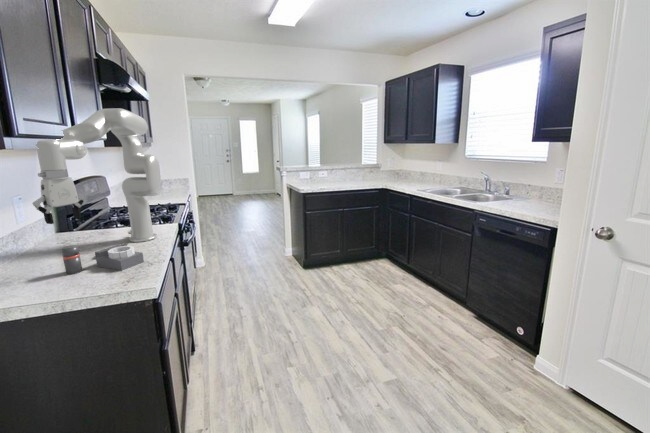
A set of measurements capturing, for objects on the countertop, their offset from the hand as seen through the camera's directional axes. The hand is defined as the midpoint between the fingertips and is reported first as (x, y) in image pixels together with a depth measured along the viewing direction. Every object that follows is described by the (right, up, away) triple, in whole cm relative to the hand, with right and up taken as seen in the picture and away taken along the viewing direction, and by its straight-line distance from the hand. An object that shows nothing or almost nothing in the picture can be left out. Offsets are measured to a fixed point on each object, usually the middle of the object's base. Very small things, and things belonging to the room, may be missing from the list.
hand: (64, 220), depth 127 cm
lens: (0, -20, +5) cm, 21 cm away
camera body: (+14, -18, +12) cm, 26 cm away
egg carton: (+4, -16, +24) cm, 29 cm away
